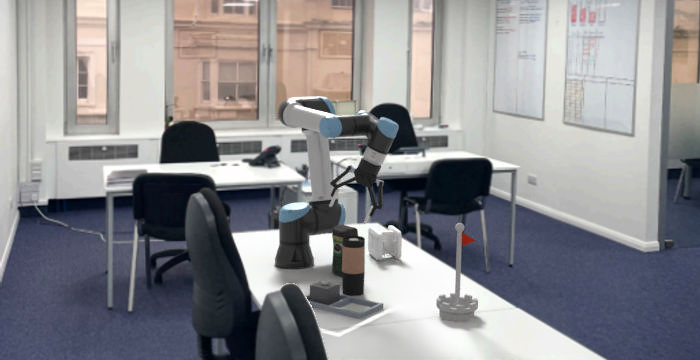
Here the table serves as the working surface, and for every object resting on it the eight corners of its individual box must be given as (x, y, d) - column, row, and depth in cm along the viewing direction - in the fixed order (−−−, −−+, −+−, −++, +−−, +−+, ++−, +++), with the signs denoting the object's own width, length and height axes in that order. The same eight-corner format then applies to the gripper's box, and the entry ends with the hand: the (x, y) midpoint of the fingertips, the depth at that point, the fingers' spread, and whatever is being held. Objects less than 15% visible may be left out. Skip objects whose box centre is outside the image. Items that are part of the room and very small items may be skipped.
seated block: (309, 302, 265) (309, 282, 264) (322, 297, 271) (322, 277, 270) (327, 306, 261) (327, 285, 260) (339, 301, 267) (339, 280, 266)
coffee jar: (361, 275, 300) (362, 226, 297) (344, 279, 295) (345, 229, 292) (344, 269, 308) (345, 221, 305) (328, 273, 303) (328, 224, 300)
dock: (296, 306, 265) (296, 298, 264) (320, 296, 275) (321, 289, 275) (360, 321, 250) (360, 314, 250) (383, 310, 261) (383, 303, 261)
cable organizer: (402, 261, 321) (403, 232, 319) (376, 262, 319) (377, 233, 317) (391, 251, 335) (391, 224, 334) (366, 253, 333) (366, 225, 331)
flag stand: (431, 319, 254) (434, 225, 249) (441, 306, 266) (444, 217, 261) (472, 324, 249) (476, 229, 244) (481, 311, 261) (485, 220, 256)
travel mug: (341, 292, 280) (341, 235, 277) (363, 291, 281) (363, 235, 277) (342, 299, 273) (343, 241, 269) (365, 298, 273) (366, 240, 270)
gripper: (337, 146, 281) (313, 200, 286) (402, 178, 277) (377, 232, 282) (342, 144, 288) (319, 196, 293) (406, 175, 284) (381, 227, 289)
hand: (347, 214), depth 288 cm, fingers open, 13 cm apart
